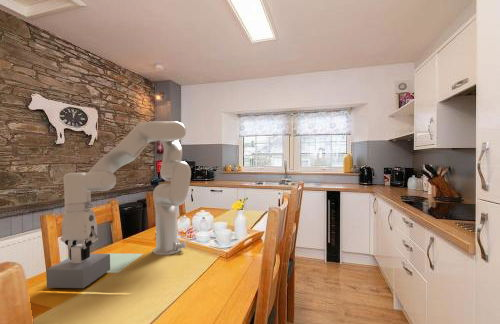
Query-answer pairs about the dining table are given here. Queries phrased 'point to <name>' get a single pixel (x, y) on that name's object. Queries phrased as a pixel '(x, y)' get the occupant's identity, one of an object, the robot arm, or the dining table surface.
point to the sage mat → (121, 261)
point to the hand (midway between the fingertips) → (80, 258)
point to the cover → (77, 270)
